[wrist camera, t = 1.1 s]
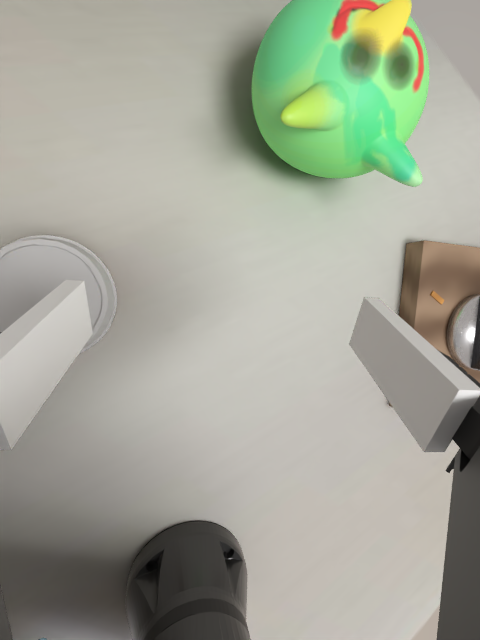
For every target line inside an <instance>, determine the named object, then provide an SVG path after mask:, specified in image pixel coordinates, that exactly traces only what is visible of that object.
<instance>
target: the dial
mask: <svg viewBox="0 0 480 640" xmlns="http://www.w3.org/2000/svg"><path fill="white" fill-rule="evenodd" d="M447 344H448V348H449V351H450V354H451V355H452V357H453V358H454V360H455V361H456V362H457V363H458V364H460V365H461V366H463V367H466V368H470V369H474V370H478V371H480V294H474V295H471V296H469V297H467V298H465V299H464V300H463V301H462V302H460V303H459V305H458V306H457V307H456V308H455V310H454V311H453V313H452V315H451V317H450V320H449V323H448V328H447Z"/></svg>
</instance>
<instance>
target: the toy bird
mask: <svg viewBox="0 0 480 640" xmlns="http://www.w3.org/2000/svg"><path fill="white" fill-rule="evenodd" d="M411 6H412V4H411V0H292V1H291V2H290V3H289V4H287V5H286V6H285V7H284V8H283V9H282V10H281V12H280V13H279V14H278V15H277V16H276V18H275V19H274V20H273V22H272V23H271V25H270V26H269V28H268V30H267V32H266V34H265V36H264V38H263V40H262V42H261V45H260V47H259V50H258V53H257V56H256V60H255V64H254V69H253V76H252V104H253V111H254V115H255V119H256V122H257V125H258V128H259V130H260V132H261V134H262V136H263V138H264V140H265V141H266V143H267V144H268V145H269V147H270V148H271V149H272V150H273V151H274V152H275V153H276V154H277V155H278V156H279V157H280V158H281V159H282V160H284V161H285V162H286V163H288V164H289V165H291V166H293V167H294V168H296V169H298V170H300V171H303V172H305V173H308V174H311V175H315V176H319V177H325V178H349V177H355V176H359V175H363V174H366V173H368V172H371V171H373V170H377V171H379V172H381V173H383V174H384V175H386V176H388V177H390V178H392V179H394V180H396V181H398V182H400V183H402V184H405V185H408V186H412V187H416V186H419V185H420V184H421V183H422V174H421V172H420V170H419V168H418V166H417V164H416V162H415V160H414V159H413V157H412V155H411V154H410V152H409V150H408V149H407V147H406V145H405V143H406V141H407V140H408V139H409V137H410V136H411V134H412V132H413V131H414V129H415V127H416V125H417V123H418V121H419V119H420V117H421V114H422V111H423V109H424V105H425V102H426V98H427V93H428V85H429V62H428V55H427V51H426V47H425V43H424V40H423V38H422V35H421V33H420V31H419V29H418V27H417V25H416V24H415V22H414V21H413V19H412V18H411V16H410V12H411Z"/></svg>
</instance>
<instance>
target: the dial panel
mask: <svg viewBox="0 0 480 640" xmlns="http://www.w3.org/2000/svg"><path fill="white" fill-rule="evenodd" d="M474 294H480V248H478V247H470V246H463V245H455V244H447V243H440V242H432V241H418V242H413V243H408V244H406V252H405V262H404V271H403V281H402V290H401V300H400V309H399V316H400V317H401V318H402V319H403V320H404V321H405V322H406V323H407V324H409V325H410V326H411V327H412V328H413V329H414V330H415V331H416V332H418V333H419V334H420V335H421V336H422V337H423V338H424V339H425V340H426V341H428V342H429V343H430V344H431V345H432V346H433V347H434V348H435V349H437V350H439V351H440V352H442V353H444V354H446V355H447V356H449V357H450V358H452V359H453V360H454V358H453V357H452V355H451V354H450V351H449V348H448V344H447V328H448V323H449V320H450V317H451V315H452V313H453V311H454V310H455V308H456V307H457V306H458V305H459V303H460V302H462V301H463V300H464V299H465V298H467V297H469V296H471V295H474ZM454 361H455V360H454ZM455 362H456V361H455ZM456 363H457V362H456ZM457 364H458V363H457ZM458 365H459V367H462V368H463V369H464V370H465V371H466V372H467V374H470V375H471V376H472V377H473V378H474V379H476V380H477V381H478V382H479V383H480V371H478V370H474V369H470V368H466V367H463V366H461V365H460V364H458ZM389 406H391V407H392V405H391V404H389Z"/></svg>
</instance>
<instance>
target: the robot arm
mask: <svg viewBox="0 0 480 640" xmlns="http://www.w3.org/2000/svg"><path fill="white" fill-rule="evenodd" d="M92 334H93V331H92V325H91V319H90V313H89V307H88V301H87V295H86V289H85V283H84V281H80V280H65V281H64V282H63V283H61V284H60V285H59V286H58V287H57V288H55V289H54V290H53V291H52V292H50V293H49V294H48V295H47V296H46V297H44V298H43V299H42V300H41V301H40V302H38V303H37V304H36V305H35V306H33V307H32V308H31V309H30V310H29V311H27V312H26V313H25V314H24V315H23V316H21V317H20V318H19V319H18V320H16V321H15V322H14V323H13V324H12V325H10V326H9V327H8V328H7V329H6V330H4V331H3V332H0V450H12V449H13V447H14V446H15V444H16V443H17V441H18V440H19V439H20V437H21V436H22V434H23V433H24V431H25V430H26V428H27V427H28V426H29V424H30V423H31V421H32V420H33V418H34V417H35V416H36V414H37V413H38V411H39V410H40V408H41V407H42V406H43V404H44V403H45V401H46V400H47V398H48V397H49V396H50V394H51V393H52V391H53V390H54V388H55V387H56V386H57V384H58V383H59V381H60V380H61V378H62V377H63V376H64V374H65V373H66V371H67V370H68V368H69V367H70V366H71V364H72V363H73V361H74V360H75V358H76V357H77V356H78V354H79V353H80V351H81V350H82V348H83V347H84V346H85V344H86V343H87V341H88V340H89V338H90V337H91V335H92ZM349 345H350V346H351V348H352V349H353V350H354V352H355V353H356V355H357V356H358V358H359V359H360V361H361V362H362V363H363V365H364V366H365V368H366V369H367V371H368V372H369V374H370V375H371V376H372V378H373V379H374V381H375V382H376V384H377V385H378V387H379V388H380V389H381V391H382V392H383V394H384V395H385V397H386V398H387V399H388V401H389V402H390V404H391V405H392V407H393V408H394V410H395V411H396V412H397V414H398V415H399V417H400V418H401V420H402V421H403V423H404V424H405V425H406V427H407V428H408V430H409V431H410V433H411V434H412V436H413V437H414V438H415V440H416V441H417V443H418V444H419V446H420V447H421V449H422V450H423V451H424V452H445V450H446V449H447V447H448V446H449V444H450V442H451V441H452V439H453V440H454V441H455V443H456V444H457V445H458V446H459V447H460V449H459V451H458V452H457V454H456V455H455V457H454V458H453V460H452V461H451V463H450V464H449V466H448V467H447V469H446V471H447V472H448V473H450V471H451V470H452V469H454V473H453V483H452V493H451V503H450V513H449V523H448V533H447V542H446V552H445V562H444V572H443V582H442V592H441V602H440V612H439V622H438V632H437V640H480V383H479V382H478V381H477V380H476V379H474V378H473V377H472V376H471V375H470V374H467V372H466V371H465V370H464V369H463V368H462V367H459V365H458V364H457V363H456V362H455V361H454V360H453V359H452V358H450V357H449V356H447V355H446V354H444V353H442V352H440V351H439V350H437V349H435V348H434V347H433V346H432V345H431V344H430V343H429V342H428V341H426V340H425V339H424V338H423V337H422V336H421V335H420V334H419V333H418V332H416V331H415V330H414V329H413V328H412V327H411V326H410V325H409V324H407V323H406V322H405V321H404V320H403V319H402V318H401V317H400V316H398V315H397V314H396V313H395V312H394V311H393V310H392V309H391V308H389V307H388V306H387V305H386V304H385V303H384V302H383V301H382V300H380V299H379V298H370V297H364V299H363V302H362V305H361V308H360V311H359V315H358V318H357V321H356V324H355V327H354V330H353V334H352V337H351V340H350V343H349ZM246 603H247V568H246V563H245V560H244V556H243V553H242V550H241V547H240V545H239V543H238V541H237V539H236V538H235V537H234V536H233V535H232V534H231V533H230V532H229V531H228V530H227V529H225V528H223V527H222V526H219V525H217V524H214V523H210V522H202V521H195V522H187V523H183V524H179V525H176V526H174V527H171V528H169V529H167V530H165V531H163V532H162V533H160V534H159V535H157V536H156V537H155V538H153V539H152V540H151V541H150V542H149V543H148V544H147V545H146V546H145V547H144V548H143V549H142V550H141V552H140V553H139V554H138V556H137V557H136V559H135V561H134V563H133V565H132V567H131V570H130V573H129V576H128V582H127V590H126V600H125V605H126V615H127V619H128V624H129V628H130V632H131V636H132V640H251V639H250V635H249V631H248V627H247V623H246ZM0 640H13V639H12V635H11V630H10V626H9V621H8V617H7V612H6V608H5V604H4V599H3V595H2V590H1V586H0ZM39 640H47V639H45V638H41V639H39Z"/></svg>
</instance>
